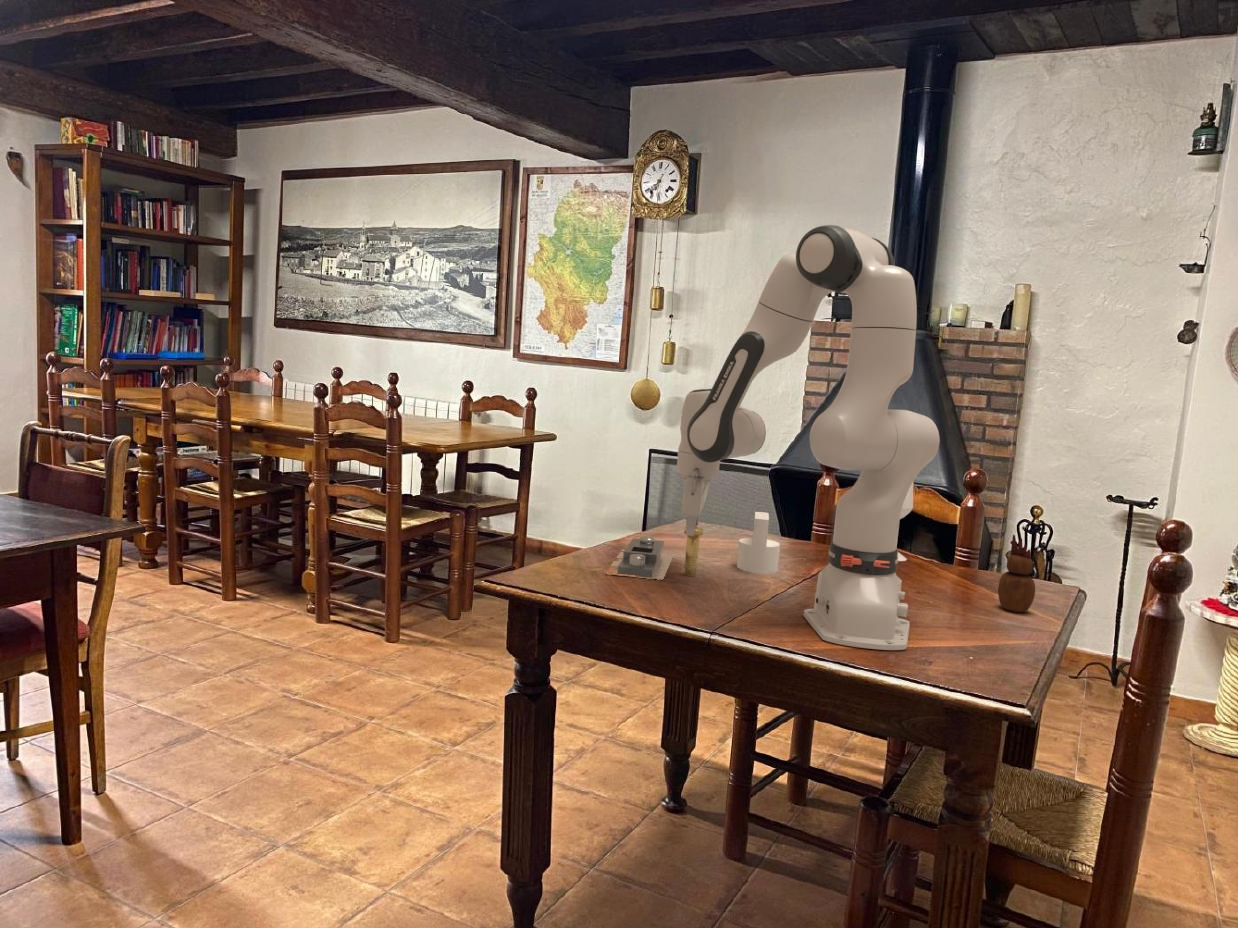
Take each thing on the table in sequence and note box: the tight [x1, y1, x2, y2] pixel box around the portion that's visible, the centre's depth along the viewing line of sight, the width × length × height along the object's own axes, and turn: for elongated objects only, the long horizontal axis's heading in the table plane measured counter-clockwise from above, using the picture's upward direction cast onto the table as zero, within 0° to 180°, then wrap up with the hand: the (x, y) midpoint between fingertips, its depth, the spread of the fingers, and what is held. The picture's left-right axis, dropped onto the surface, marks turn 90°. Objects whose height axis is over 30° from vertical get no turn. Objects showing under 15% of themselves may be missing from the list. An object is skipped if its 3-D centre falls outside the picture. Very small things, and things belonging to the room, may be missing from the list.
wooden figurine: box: [997, 534, 1036, 613], centre depth 178 cm, size 7×6×15 cm
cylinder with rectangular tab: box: [736, 511, 781, 575], centre depth 199 cm, size 9×9×12 cm
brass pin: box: [683, 526, 704, 577], centre depth 189 cm, size 4×4×10 cm
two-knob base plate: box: [610, 535, 675, 581], centre depth 195 cm, size 23×12×4 cm, turn 171°
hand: (692, 530), depth 189 cm, fingers open, 8 cm apart
